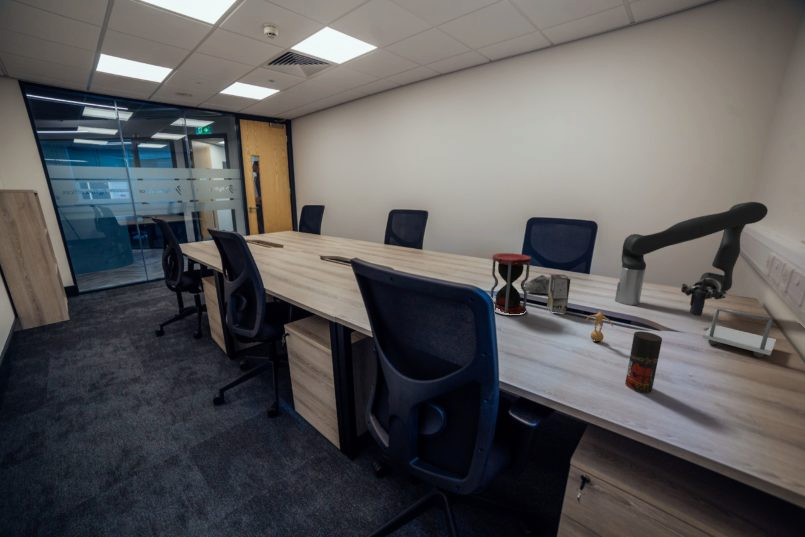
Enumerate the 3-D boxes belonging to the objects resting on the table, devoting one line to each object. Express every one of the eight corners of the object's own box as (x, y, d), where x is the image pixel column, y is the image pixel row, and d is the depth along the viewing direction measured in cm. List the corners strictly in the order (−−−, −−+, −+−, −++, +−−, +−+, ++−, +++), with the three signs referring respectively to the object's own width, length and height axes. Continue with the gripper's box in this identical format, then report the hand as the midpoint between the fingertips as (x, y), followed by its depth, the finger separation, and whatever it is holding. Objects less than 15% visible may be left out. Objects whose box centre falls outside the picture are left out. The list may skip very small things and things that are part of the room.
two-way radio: (702, 317, 125) (711, 280, 122) (687, 315, 127) (695, 278, 124) (699, 313, 130) (707, 277, 126) (684, 310, 132) (692, 275, 128)
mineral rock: (522, 292, 173) (524, 274, 171) (528, 288, 181) (530, 271, 179) (547, 297, 165) (550, 278, 163) (553, 292, 173) (555, 274, 171)
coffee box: (566, 315, 141) (571, 279, 137) (551, 313, 142) (555, 278, 139) (561, 308, 150) (565, 274, 146) (546, 307, 151) (550, 273, 147)
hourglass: (486, 313, 142) (490, 258, 137) (491, 302, 157) (494, 252, 151) (525, 318, 136) (530, 261, 131) (526, 306, 151) (531, 254, 145)
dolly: (701, 344, 114) (709, 306, 111) (710, 333, 123) (718, 298, 119) (768, 362, 101) (780, 320, 98) (773, 349, 110) (784, 310, 107)
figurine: (610, 342, 115) (615, 310, 112) (608, 348, 110) (614, 315, 107) (583, 336, 119) (588, 305, 117) (581, 342, 115) (585, 310, 112)
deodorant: (620, 381, 91) (628, 331, 87) (639, 380, 91) (649, 331, 88) (636, 393, 85) (646, 341, 82) (657, 392, 85) (668, 340, 82)
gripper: (687, 275, 139) (675, 281, 129) (733, 283, 128) (724, 290, 118) (683, 291, 141) (671, 299, 131) (728, 300, 130) (719, 309, 120)
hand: (697, 294), depth 125 cm, fingers closed on two-way radio, 4 cm apart
